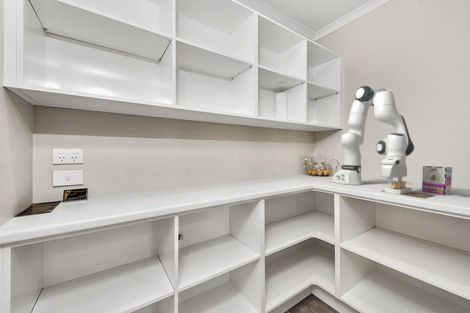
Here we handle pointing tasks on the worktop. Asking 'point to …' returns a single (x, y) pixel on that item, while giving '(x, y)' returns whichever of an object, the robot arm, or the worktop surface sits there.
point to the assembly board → (415, 195)
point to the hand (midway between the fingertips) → (394, 185)
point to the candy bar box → (437, 180)
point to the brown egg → (396, 185)
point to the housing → (399, 191)
